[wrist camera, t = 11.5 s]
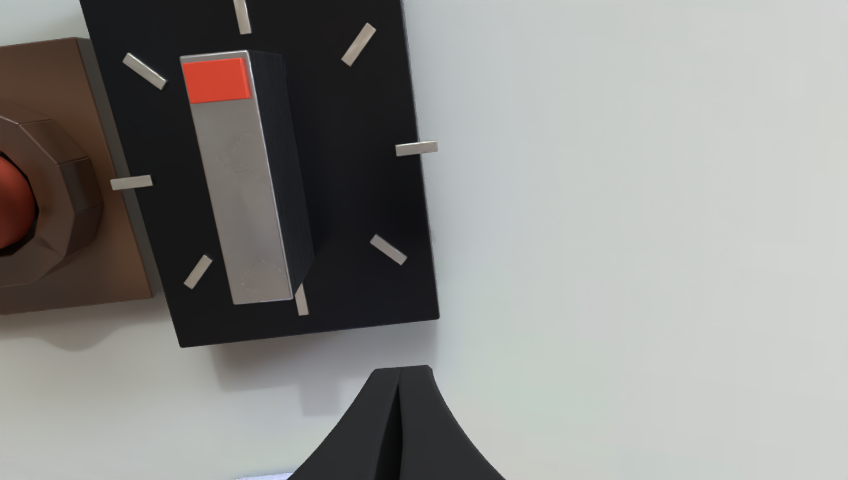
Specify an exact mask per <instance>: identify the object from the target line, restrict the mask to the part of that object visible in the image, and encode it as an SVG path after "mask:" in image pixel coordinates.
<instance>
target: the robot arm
mask: <svg viewBox="0 0 848 480" xmlns="http://www.w3.org/2000/svg"><path fill="white" fill-rule="evenodd" d="M235 480H505V479H504V478H503V477H502V476H501V475H500V474H499V472H498V471H497V470H496V469H495V468H494V467H493V466H492V465H491V464H490V463H489V462H488V461H487V460H486V459H485V458H484V456H483V455H482V454H481V453H480V452H479V451H478V449H477V448H476V447H475V446H474V445H473V443H472V442H471V441H470V439H469V438H468V437H467V435H466V434H465V433H464V431H463V430H462V428H461V427H460V426H459V424H458V422H457V421H456V419H455V418H454V416H453V415H452V413H451V411H450V410H449V408H448V406H447V405H446V403H445V401H444V399H443V397H442V395H441V393H440V391H439V389H438V387H437V384H436V382H435V379H434V376H433V372H432V369H431V368H430V367H429V366H428V365H420V366H407V367H394V368H382V369H375V370H374V371H373V372H372V373H371V375H370V376H369V378H368V380H367V381H366V383H365V384H364V386H363V388H362V389H361V391H360V392H359V394H358V395H357V397H356V398H355V400H354V401H353V403H352V404H351V406H350V407H349V408H348V410H347V411H346V412H345V414H344V415H343V417H342V418H341V419H340V421H339V422H338V423H337V425H336V426H335V427H334V428H333V430H332V431H331V432H330V433H329V435H328V436H327V437H326V438H325V439H324V441H323V442H322V443H321V444H320V445H319V447H318V448H317V449H316V450H315V451H314V452H313V453H312V454H311V456H310V457H309V458H308V459H307V460H306V461H305V462H304V463H303V464H302V465H301V466H300V467H299V468H298V469H297V470H296V471H295V472H293V473H284V474H274V475H265V476H255V477H246V478H238V479H235Z"/></svg>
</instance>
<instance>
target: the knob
mask: <svg viewBox="0 0 848 480" xmlns="http://www.w3.org/2000/svg"><path fill="white" fill-rule="evenodd" d="M180 62H181V67H182V71H183V76H184V80H185V85H186V90H187V94H188V99H189V103H190V108H191V112H192V117H193V122H194V126H195V131H196V135H197V140H198V144H199V149H200V153H201V158H202V163H203V167H204V172H205V176H206V181H207V185H208V190H209V194H210V199H211V204H212V208H213V213H214V217H215V222H216V226H217V231H218V235H219V240H220V245H221V249H222V254H223V258H224V263H225V267H226V272H227V276H228V281H229V286H230V290H231V295H232V299H233V303H234V304H246V303H258V302H269V301H280V300H291V299H293V298H294V296H295V294H296V292H297V290H298V289H299V287H300V285H301V283H302V281H303V280H304V278H305V276H306V274H307V272H308V271H309V269H310V267H311V265H312V263H313V262H314V260H315V254H314V248H313V242H312V236H311V230H310V224H309V218H308V212H307V205H306V199H305V193H304V187H303V181H302V175H301V169H300V163H299V156H298V150H297V144H296V138H295V132H294V126H293V120H292V114H291V107H290V101H289V95H288V89H287V83H286V77H285V71H284V65H283V58H282V55H280V54H273V53H266V52H259V51H252V50H236V51H226V52H215V53H205V54H195V55H184V56H181V57H180Z"/></svg>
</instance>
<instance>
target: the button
mask: <svg viewBox="0 0 848 480" xmlns="http://www.w3.org/2000/svg"><path fill="white" fill-rule="evenodd" d="M34 217H35V201H34V197H33V193H32V191H31V188H30V186H29V184H28V182H27V181H26V179H25V178H24V176H23V175H22V174H21V173H20V171H19V170H18V169H17V168H16V167H15V166H14V165H12V164H11V163H10V162H9V161H7V160H6V159H4V158H3V157H1V156H0V249H2V248H4V247H7V246H9V245H12V244H14V243H16V242H18V241H19V240H20V239H22V238H23V237H24V236H25V235H26V234H27V232H28V231H29V230H30V228H31V226H32V224H33V221H34Z"/></svg>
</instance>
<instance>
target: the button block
mask: <svg viewBox="0 0 848 480" xmlns="http://www.w3.org/2000/svg"><path fill="white" fill-rule="evenodd" d="M0 156H1V157H3V158H4V159H6V160H7V161H9V162H10V163H11V164H12V165H14V166H15V167H16V168H17V169H18V170H19V171H20V173H21V174H22V175H23V176H24V178H25V179H26V181H27V182H28V184H29V186H30V188H31V191H32V193H33V197H34V201H35V217H34V221H33V224H32V226H31V228H30V230H29V231H28V232H27V234H26V235H25V236H24V237H23V238H22V239H20V240H19V241H18V242H16V243H14V244H12V245H9V246H7V247H4V248H2V249H0V315H8V314H17V313H25V312H34V311H43V310H51V309H60V308H69V307H78V306H86V305H95V304H104V303H113V302H121V301H130V300H139V299H148V298H153V297H154V296H155V295H157V294H158V293H159V292H160V291H161V290H162V289H163V287H162V283H161V280H160V276H159V273H158V269H157V266H156V262H155V259H154V256H153V252H152V249H151V245H150V242H149V238H148V235H147V231H146V228H145V225H144V221H143V218H142V214H141V211H140V207H139V204H138V200H137V197H136V194H135V190H134V188H128V189H119V190H113V189H112V185H111V182H110V180H112V179H118V178H126V177H131V176H130V173H129V169H128V166H127V163H126V159H125V156H124V152H123V149H122V145H121V142H120V138H119V135H118V132H117V128H116V125H115V121H114V118H113V114H112V111H111V107H110V104H109V101H108V97H107V94H106V90H105V87H104V83H103V80H102V76H101V73H100V70H99V66H98V63H97V59H96V56H95V52H94V49H93V45H92V42H91V39H88V38H79V37H70V38H62V39H54V40H47V41H39V42H31V43H23V44H15V45H7V46H0Z"/></svg>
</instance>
